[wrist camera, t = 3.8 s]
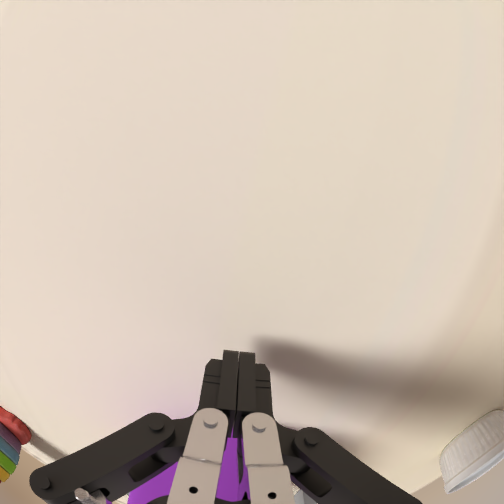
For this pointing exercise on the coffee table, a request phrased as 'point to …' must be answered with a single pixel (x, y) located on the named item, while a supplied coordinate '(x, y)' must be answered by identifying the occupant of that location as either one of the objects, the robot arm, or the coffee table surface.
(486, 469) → the ramekin
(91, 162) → the coffee table surface
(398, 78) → the coffee table surface
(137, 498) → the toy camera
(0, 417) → the stacking bear
